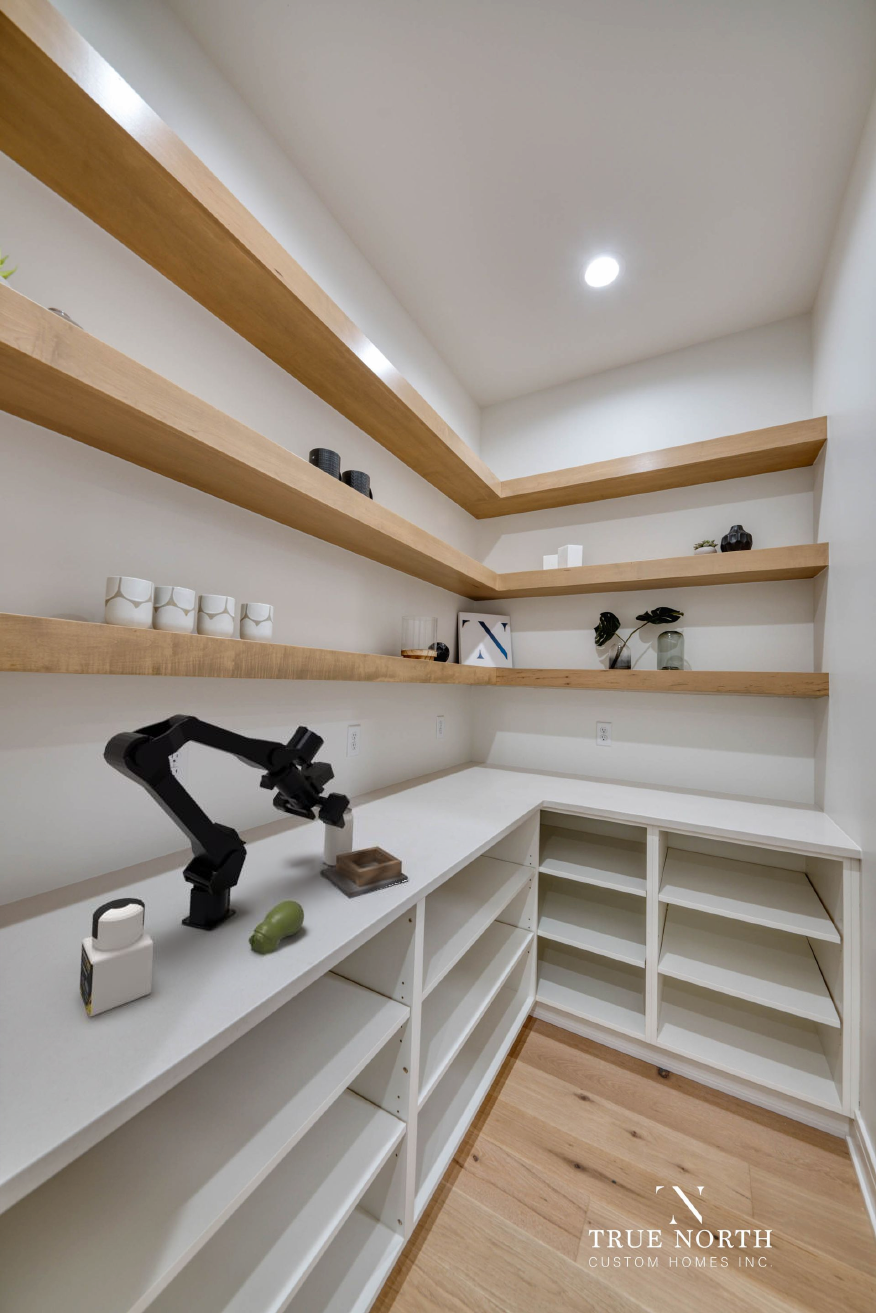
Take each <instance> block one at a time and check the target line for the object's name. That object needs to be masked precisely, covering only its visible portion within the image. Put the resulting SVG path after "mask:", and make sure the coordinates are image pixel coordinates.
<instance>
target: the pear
mask: <svg viewBox="0 0 876 1313" xmlns="http://www.w3.org/2000/svg"><path fill="white" fill-rule="evenodd" d="M304 919H305V911H304V909H303V906H302V905H301V904H300V903H299V902H297V901H295V900H291V899H290V900H289V899H287V900H284V901H282V902H280V903H278V904H277V905H275V906H273V908H271V909H270V910H269V911H268V913H266V915H265V917H264V919H263V920H262V922H260V923H259V924H258V925H257V926H255V928H254V929H253V933H252V935H250V937H249V938H248V944H249V945H250V949H252V950H255V951H256V952H258V953H261V954H262V955H266V954H270V953H271V952H273V951H275V950H276V949H277V947H278V945H279V942H280V941H281V940H282V939H283V938H285V937H289V936H292V935H294V934H296V933H298V931H299V930H300V929H301V928H302V926H303V924H304Z"/></svg>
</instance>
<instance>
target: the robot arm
mask: <svg viewBox="0 0 876 1313" xmlns="http://www.w3.org/2000/svg"><path fill="white" fill-rule="evenodd" d="M189 742H192V743H195V744H199V745H202V746H205V747H207V748H211V749H213V750H214V749H215V750H216V751H221V752H223V753H227V754H230V755H232V756H234V757H235V758H236V759H238V760H239V761H240V762H242V763H244V764H246V765H247V766H248V767H251V768H252V769H253V768H254V769H258V770H262V771H266V773H265V774H261V779H260V781H259V788H261V789H265V790H268V791H273V790H274V789H275V788H276V789H277V790H278V791H277V793H276V794H275V796H274V798H273V799H272V806H273V807H274V808H275V809H276V810H277V811H280V812H283V813H286V814H290V815H293V816H297V817H300V818H304V819H307V820H309V821H310V820H311V821H315V819H316V818H317V817H318V820H320V821H321V822H322V823H323V824H328V825H331V826H335V827H338V828H342V829H343V828H344V826H345V821H344V817H343V814H344V812H345V810H346V809H347V807H349V805H350V803H351V800H350V799H349V797H348V796H347V795H346V794H343V793H338V792H330V793H329V794H328V796H327V797H326V796H322V795H321V794H323V793H324V792H325V788H324V786H326V785H327V784H328V782H330V781H331V780H333V779H335V773H334V770H333V767H332V764H331V763H329V762H324V761H313V760H314V758H315V757H316V755H317V754H318V752H319V751H320V749H321V748H322V747H323V745H325V744H324V743H325V741H324V739H323V737H322V736H321V735H318V734H317V733H316V732H314V731H312V730H310V729H308V727H307V726H302V725H299V726H298V728H296V730H295V732H294V734H293V735H292V737H291V738H290V739H289V741H288V742H287V743H286V744H284V743H282V742H278V741H273V740H268V739H261V738H256V737H255V738H254V737H249V736H248V737H247V736H246V735H242V734H239V733H237V732H234V731H231V730H228V729H226V728H223V727H220V726H218V725H215V724H212V723H209V722H207V721H204V720H200V718H198V717H196V716H194V715H188V714H180V713H179V714H178V713H177V714H175V715H173V716H170V717H168V718H166V719H164V720H161V721H158V722H155V723H152V724H149V725H146V726H142V727H140V728H137V729H136V730H133V731H124V732H119V733H117V734H115V735H114V736H112V737H111V738H109V740H108V741H107V743H106V745H105V747H104V751H103V753H102V755H103V759H104V761H105V762H106V763H107V765H109V766H110V767H112V768H113V769H114V770H115V771H117V772H118V773H119V774H121V775H123V776H124V777H126V778H127V779H130V780H131V781H133V782H134V783H136V784H138V785H139V786H141V787H142V788H143V789H144V790H145V791H146V792H147V793H148V794H149V795H150V797H151V798H152V799H153V800H154V801H155V803H157V805H158V806H160V808H161V809H162V810H163V812H164V813H166V815H167V816H168V817H169V818H170V819H171V820H172V821H173V822H174V823H175V825H176V826H177V827H178V828H179V829H180V830H181V832H182V833H183V834H184V835H185V836H186V838H188V840H189V841H190V845H191V852H192V853H193V858H192V859H191V860H190V861H189V863H188V864H187V866H186V867H185V868H184V869H183V871H182V876H183V879H184V882H186V883H189V884H191V885H192V888H190V892H189V897H190V898H189V913H188V914H189V915H188V916H186V917H185V918H183V919H181V924H182V925H185V926H186V925H187V926H191V927H195V928H200V929H202V930H208V931H211V930H214V929H216V928H217V927H218V926H220V925H221V924H223V923H224V922H225V921H227V920H228V919H230V918H231V917H232V916H234V915H235V914H236V913H237V910H236V909H234V908H230V905H231V891H232V890H231V888H234V887H236V886H237V885H238V882H239V879H240V876H241V872H242V870H243V866H244V864H245V861H246V857H247V854H248V850H247V848H246V847H245V844H247V841H245V840H243V839H242V838H241V837H240V835H239V833H238V831H237V830H236V829H235V828H233V827H231V826H227V825H225V824H221V823H218V822H216V821H215V822H214V823H213V821H212V820H211V818H210V817H209V816H208V815H207V814H206V812H204V810H203V809H202V808H201V806H200V805H199V804H198V803H197V802H196V800H195V799H194V798H193V797H192V795H191V794H190V793H189V792H188V791H187V790H186V788H185V787H184V786H183V785H182V784H181V783H180V781H179V780H178V778H177V777H175V775H174V774H173V772H172V768H171V766H172V765H171V760H170V758H169V757H171V756H173V755H174V754H176V753H177V752H178V751H180V750H181V748H182V747H183V746H184V745H186V744H187V743H189ZM312 761H313V762H312ZM299 767H300V768H299ZM313 808H319V810H318V815H316V814H315V813H314V810H313Z"/></svg>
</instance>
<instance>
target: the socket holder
mask: <svg viewBox="0 0 876 1313" xmlns="http://www.w3.org/2000/svg"><path fill="white" fill-rule="evenodd" d="M402 867H403V861H402V860H401V859H399V858H398V857H395V856H394V855H393V854H391V853H390V852H388V851H386V850H384V849H383V848H381V847H380V846H377V845H376V846H372V847H367V848H364V849H358V850H354V851H352V852H349V853H345V854H340V855H336V866H330V867H328V868H324V869H321V872H320V874H321V876H322V877H323V878H325V879H326V880H327V881H328V882H330V884H332V885H333V886H334V887H335V888H336V889H337V890H339V891H340V892H341V893H342V894H344V895H345V896H346V897H347V898H348V899H350V898H351V899H352V898H355V897H359V896H361V894H362V895H364V894H367V893H368V892H369V893H371V891H372V892H375V891H374V890H376V891H378V890H377V889H379V890H381V889H380V888H383V889H385V888H384V887H386V886H389V885H392V884H395V883H399V882H402V881H404V880H407V879H408V880H409V878H408V877H409V876H408V875H406V874H404V873H403V872H402ZM389 887H390V886H389ZM386 888H387V887H386ZM369 893H368V894H369Z"/></svg>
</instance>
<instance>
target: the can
mask: <svg viewBox="0 0 876 1313" xmlns="http://www.w3.org/2000/svg"><path fill="white" fill-rule="evenodd" d="M343 817H344V821H345V826H344V828H343V829H342V828H338V827H335V826H331V825H328V824H325V825H324V841H323V842H324V845H323V862H324V863H325V865H326V866H330V867H335V866H336V855H340V854H345V853H349V852H353V842H354V814H353V809H352V808H351V807H349V806H348V807H347V809H346V810H345V812H344V814H343Z"/></svg>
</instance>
